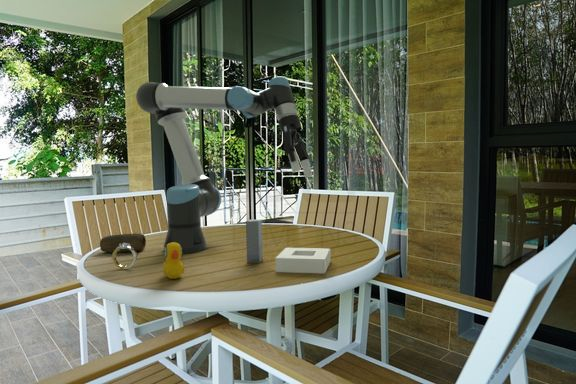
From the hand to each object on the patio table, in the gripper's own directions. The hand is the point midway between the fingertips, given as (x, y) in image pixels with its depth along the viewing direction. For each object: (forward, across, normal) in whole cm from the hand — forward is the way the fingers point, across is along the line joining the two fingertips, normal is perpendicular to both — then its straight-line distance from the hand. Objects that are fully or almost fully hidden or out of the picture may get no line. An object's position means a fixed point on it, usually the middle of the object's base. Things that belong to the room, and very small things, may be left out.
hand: (303, 174), depth 142 cm
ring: (+19, -33, +52) cm, 65 cm away
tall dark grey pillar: (+25, -14, +19) cm, 35 cm away
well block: (+31, -16, +3) cm, 35 cm away
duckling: (+25, -37, +33) cm, 56 cm away
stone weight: (+9, -13, +69) cm, 71 cm away
